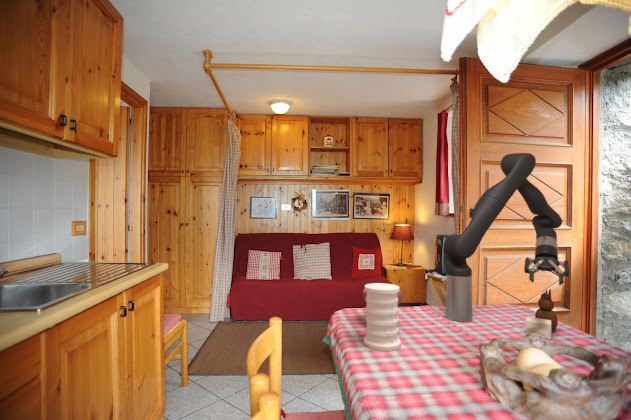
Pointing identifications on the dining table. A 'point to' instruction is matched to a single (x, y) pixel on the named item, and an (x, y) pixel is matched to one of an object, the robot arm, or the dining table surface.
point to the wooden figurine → (547, 309)
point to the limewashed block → (538, 326)
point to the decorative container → (382, 317)
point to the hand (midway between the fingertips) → (546, 282)
